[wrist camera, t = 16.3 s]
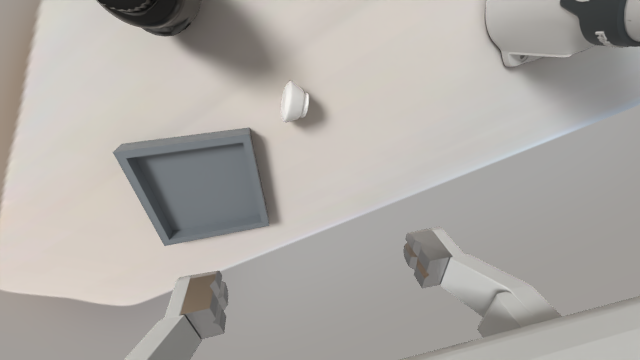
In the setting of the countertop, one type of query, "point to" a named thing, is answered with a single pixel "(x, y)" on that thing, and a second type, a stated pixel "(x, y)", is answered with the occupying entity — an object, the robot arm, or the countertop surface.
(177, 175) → the tray
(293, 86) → the small white bowl
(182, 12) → the supplement bottle
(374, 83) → the countertop surface
